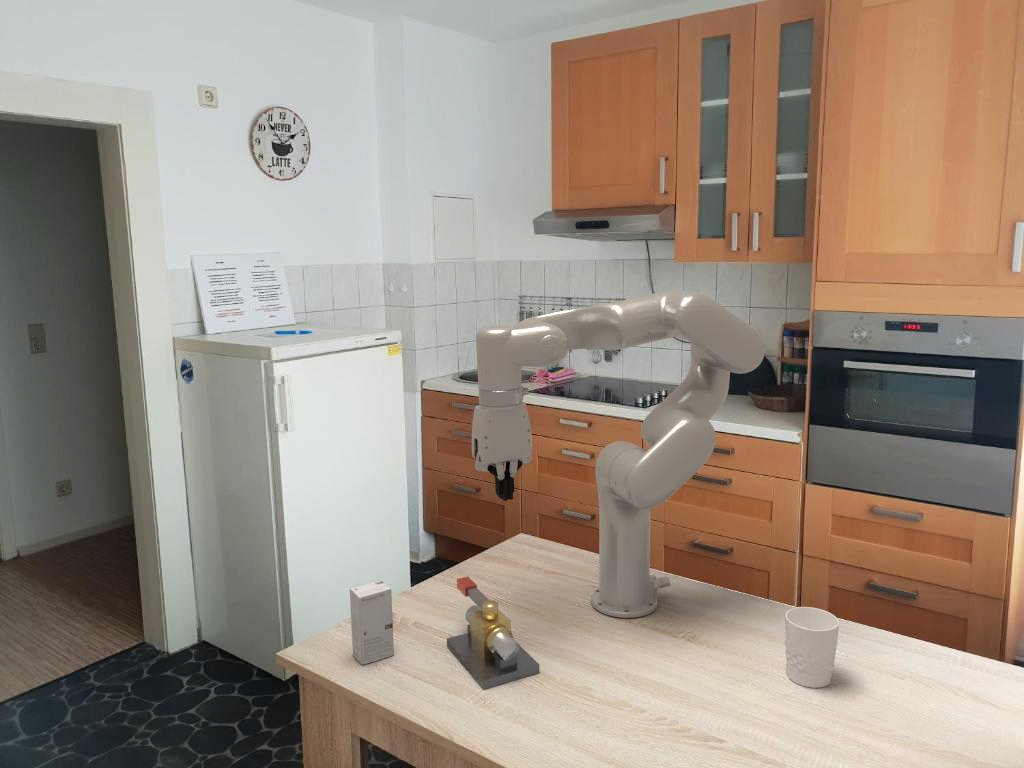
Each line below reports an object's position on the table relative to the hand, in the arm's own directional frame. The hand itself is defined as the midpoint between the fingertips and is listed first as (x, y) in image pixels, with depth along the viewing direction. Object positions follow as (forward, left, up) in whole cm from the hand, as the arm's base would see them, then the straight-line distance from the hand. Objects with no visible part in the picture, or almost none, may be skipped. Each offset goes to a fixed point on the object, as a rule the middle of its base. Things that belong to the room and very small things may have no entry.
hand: (505, 497), depth 140 cm
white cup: (-34, +39, -24) cm, 57 cm away
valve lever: (+8, +5, -16) cm, 19 cm away
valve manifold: (+8, +10, -24) cm, 27 cm away
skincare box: (+25, -1, -24) cm, 35 cm away
